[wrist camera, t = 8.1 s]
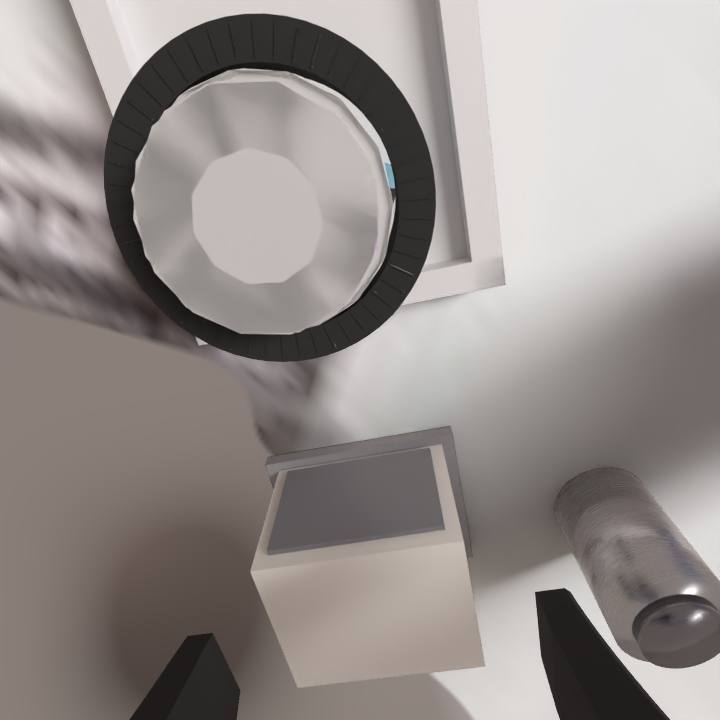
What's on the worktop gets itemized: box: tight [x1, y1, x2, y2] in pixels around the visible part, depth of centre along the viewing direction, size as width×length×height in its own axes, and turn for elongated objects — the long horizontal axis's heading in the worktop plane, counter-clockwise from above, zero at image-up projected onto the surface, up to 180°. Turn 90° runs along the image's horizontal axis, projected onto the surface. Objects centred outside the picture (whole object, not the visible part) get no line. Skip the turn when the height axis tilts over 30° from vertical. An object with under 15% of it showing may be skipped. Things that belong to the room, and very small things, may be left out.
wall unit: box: [250, 426, 485, 688], centre depth 20 cm, size 8×7×6 cm
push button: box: [104, 13, 436, 362], centre depth 12 cm, size 7×5×10 cm
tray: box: [69, 0, 505, 345], centre depth 15 cm, size 11×13×2 cm
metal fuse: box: [554, 468, 720, 668], centre depth 19 cm, size 4×4×7 cm
